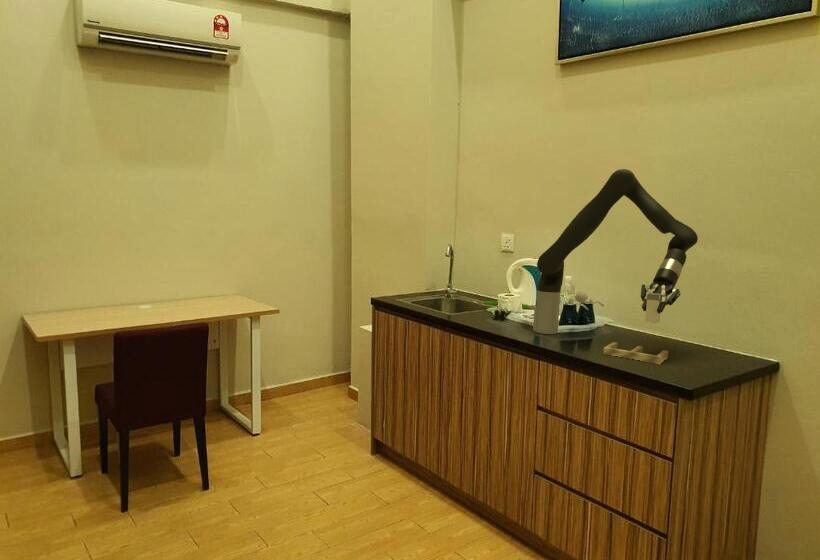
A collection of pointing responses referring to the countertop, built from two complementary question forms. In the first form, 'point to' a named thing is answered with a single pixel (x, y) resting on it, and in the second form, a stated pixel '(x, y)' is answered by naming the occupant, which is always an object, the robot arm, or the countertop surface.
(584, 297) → the toy
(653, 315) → the cream lidded container
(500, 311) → the figurine
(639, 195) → the robot arm
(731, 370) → the countertop surface
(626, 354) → the comb rack
